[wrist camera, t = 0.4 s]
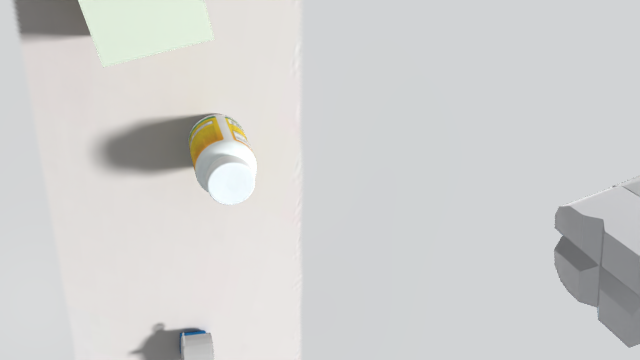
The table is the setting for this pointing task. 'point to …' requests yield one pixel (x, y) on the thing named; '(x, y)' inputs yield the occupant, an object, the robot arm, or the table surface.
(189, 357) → the electric motor
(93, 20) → the tower top block
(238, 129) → the supplement bottle
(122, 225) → the table surface
